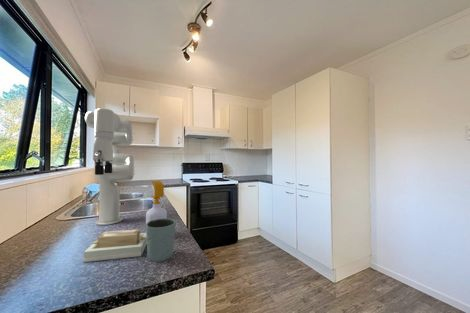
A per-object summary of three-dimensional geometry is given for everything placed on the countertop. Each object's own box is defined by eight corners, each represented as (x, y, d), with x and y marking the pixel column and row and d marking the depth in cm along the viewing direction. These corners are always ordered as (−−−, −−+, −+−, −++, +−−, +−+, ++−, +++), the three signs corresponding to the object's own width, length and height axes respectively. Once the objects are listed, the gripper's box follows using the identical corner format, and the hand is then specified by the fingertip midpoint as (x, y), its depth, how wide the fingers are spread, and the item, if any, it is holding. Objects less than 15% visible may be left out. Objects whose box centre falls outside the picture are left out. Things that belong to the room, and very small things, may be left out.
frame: (104, 244, 78) (104, 231, 78) (140, 241, 81) (140, 228, 81) (97, 251, 72) (97, 237, 72) (136, 247, 75) (136, 234, 75)
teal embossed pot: (161, 247, 78) (161, 216, 78) (181, 252, 73) (181, 220, 74) (138, 259, 69) (139, 224, 69) (160, 265, 64) (160, 228, 64)
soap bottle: (161, 229, 98) (161, 179, 98) (170, 234, 91) (170, 181, 91) (142, 234, 91) (143, 181, 92) (150, 240, 85) (150, 182, 85)
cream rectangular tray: (101, 243, 81) (101, 234, 81) (148, 239, 85) (148, 231, 85) (82, 262, 67) (83, 251, 67) (140, 255, 71) (141, 245, 71)
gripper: (102, 138, 98) (102, 172, 98) (85, 133, 81) (85, 175, 81) (119, 138, 100) (119, 172, 99) (106, 134, 83) (105, 175, 83)
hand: (104, 173), depth 90 cm, fingers open, 9 cm apart
